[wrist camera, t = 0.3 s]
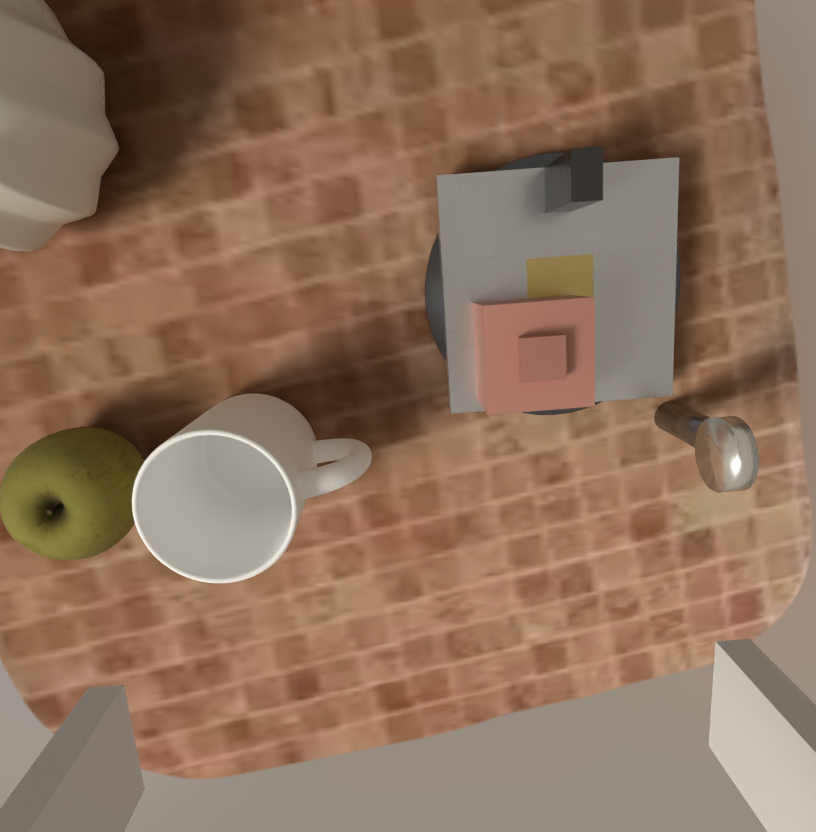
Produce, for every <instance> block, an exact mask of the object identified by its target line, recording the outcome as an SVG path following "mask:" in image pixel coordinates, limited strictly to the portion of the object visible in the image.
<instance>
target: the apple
mask: <svg viewBox="0 0 816 832" xmlns="http://www.w3.org/2000/svg"><path fill="white" fill-rule="evenodd" d="M143 463H144V459H143V457H142V455H141V454H140V452H139V451H138V450H137V449H136V447H134V446H133V445H132V444H131V443H130V442H129V441H128V440H126V439H125V438H124V437H122V436H120V435H118V434H116V433H114V432H111V431H108V430H106V429H101V428H94V427H79V428H71V429H66V430H62V431H59V432H56V433H54V434H51V435H48V436H46V437H44V438H42V439H40V440H38V441H37V442H35V443H33V444H32V445H30V446H28V447H27V448H26V449H25V450H24V451H22V452H21V453H20V454H19V455H18V456H17V457H16V458H15V460H14V461H13V462H12V463H11V464H10V466H9V467H8V469H7V471H6V473H5V475H4V478H3V480H2V484H1V490H0V512H1V516H2V519H3V522H4V525H5V527H6V529H7V530H8V532H9V533H10V535H11V536H12V537H13V538H14V539H15V540H16V541H17V542H18V543H20V544H21V545H23V546H24V547H26V548H27V549H29V550H30V551H32V552H34V553H36V554H39V555H42V556H45V557H49V558H55V559H62V560H77V559H84V558H89V557H92V556H95V555H98V554H100V553H102V552H104V551H106V550H108V549H109V548H111V547H112V546H114V545H115V544H116V543H118V542H119V541H120V540H121V539H122V538H123V537H124V536H125V535H126V534H127V533H128V532H129V531H130V529H131V528H132V527H133V525H134V523H135V521H134V517H133V512H132V494H133V487H134V483H135V479H136V477H137V474H138V472H139V470H140V468H141V466H142V465H143Z"/></svg>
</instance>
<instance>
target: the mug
mask: <svg viewBox="0 0 816 832" xmlns="http://www.w3.org/2000/svg"><path fill="white" fill-rule="evenodd" d="M335 460H339V461H336V462H334V463H331V464H328V465H324V466H320V467H317V464H318V463H322V462H328V461H335ZM371 460H372V453H371V450H370V448H369V447H368V446H367V445H366V444H365V443H364V442H362V441H359V440H355V439H349V438H337V439H326V440H317V441H316V438H315V435H314V433H313V430H312V428H311V427H310V425H309V423H308V422H307V420H306V419H305V418H304V416H303V415H302V414H301V413H300V412H299V411H298V410H297V409H295V408H294V407H293V406H292V405H290V404H288V403H287V402H285V401H283V400H281V399H279V398H276V397H273V396H270V395H265V394H254V393H253V394H242V395H237V396H234V397H231V398H228V399H226V400H224V401H222V402H220V403H218V404H216V405H215V406H213V407H212V408H211V409H209V410H208V411H206V412H205V413H204V414H202V415H201V416H200V417H198V418H197V419H195V420H194V421H193V422H191V423H190V424H189V425H187V426H186V427H184V428H183V429H182V430H180V431H179V432H178V433H176V434H175V435H174V436H172V437H171V438H169V439H168V440H167V441H165V442H164V443H163V444H161V445H160V446H159V447H157V448H156V449H155V450H154V451H153V452H152V453H151V454H150V455H149V456H148V458H147V459H146V460H145V461H144V463H143V465H142V466H141V468H140V470H139V472H138V474H137V477H136V479H135V483H134V487H133V494H132V512H133V517H134V521H135V524H136V527H137V530H138V532H139V534H140V536H141V538H142V540H143V542H144V543H145V545H146V546H147V548H148V549H149V550H150V551H151V553H152V554H153V555H154V556H155V557H156V558H157V559H158V560H159V561H161V562H162V563H163V564H164V565H166V566H167V567H168V568H170V569H171V570H173V571H175V572H177V573H179V574H181V575H183V576H185V577H188V578H190V579H194V580H198V581H202V582H209V583H231V582H236V581H241V580H244V579H247V578H250V577H253V576H255V575H257V574H259V573H261V572H262V571H264V570H266V569H267V568H269V567H270V566H271V565H272V564H273V563H275V562H276V561H277V560H278V559H279V558H280V556H281V555H282V554H283V553H284V551H285V550H286V548H287V547H288V545H289V544H290V541H291V539H292V537H293V535H294V532H295V529H296V527H297V524H298V521H299V519H300V516H301V513H302V510H303V508H304V505H305V503H306V500H307V498H311V497H315V496H319V495H322V494H325V493H328V492H331V491H334V490H337V489H339V488H341V487H344V486H346V485H348V484H350V483H351V482H353V481H355V480H356V479H357V478H359V477H360V476H361V475H362V474H363V473H364V472H365V471H366V470H367V469H368V468H369V466H370V463H371Z"/></svg>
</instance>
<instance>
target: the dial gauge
mask: <svg viewBox="0 0 816 832" xmlns="http://www.w3.org/2000/svg"><path fill="white" fill-rule="evenodd" d="M655 423H656V425H657V426H658V427H659V428H661V429H662V430H664V431H666V432H668V433H670V434H671V435H673V436H675V437H677V438H679V439H680V440H682V441H684V442H686V443H688V444H689V445H691V446H693V447H695V456H696V462H697V466H698V469H699V472H700V475H701V477H702V479H703V481H704V482H705V484H706V485H707V486H708V487H709V488H710V489H711V490H713V491H714V492H718V493H721V492H733V491H744V490H747V489H748V488H750V487H751V486H752V485H753V483H754V481H755V479H756V476H757V473H758V466H759V455H758V448H757V444H756V440H755V438H754V435H753V433H752V431H751V429H750V428H749V426H748V425H747V424H746V423H745V422H744V421H743V420H742V419H741V418H739V417H736V416H728V417H716V418H710V417H708V416H705V415H703V414H701V413H698V412H696V411H694V410H692V409H689V408H687V407H685V406H682V405H680V404H678V403H675V402H666V403H663V404H662V405H660V406H659V407H658V409H657V410H656V412H655Z"/></svg>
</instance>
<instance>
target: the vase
mask: <svg viewBox="0 0 816 832" xmlns="http://www.w3.org/2000/svg"><path fill="white" fill-rule="evenodd" d="M118 150H119V146H118V142H117V140H116V137H115V135H114V133H113V130H112V128H111V126H110V124H109V121H108V119H107V117H106V115H105V77H104V72H103V71H102V70H101V68H100V67H99V66H98V64H97V63H96V62H95V61H94V60H93V59H92V58H90V57H89V56H88V55H86V54H85V53H84V52H82V51H81V50H80V49H79V48H77V47H76V46H75V45H73V44H72V43H71V42H70V41H69V39H68V38H67V36H66V34H65V32H64V30H63V28H62V26H61V24H60V23H59V21H58V19H57V17H56V15H55V13H54V12H53V11H52V10H51V9H50V7H49V6H48V5H47V4H46V2H45V1H44V0H0V248H4V249H8V250H13V251H27V252H30V251H34V250H38V249H41V248H43V247H44V246H45V245H46V244H47V243H48V242H49V240H50V239H51V238H52V237H53V236H54V235H55V234H56V233H57V232H58V230H59V229H60V228H61V227H62V226H63V225H65V224H67V223H71V222H74V221H77V220H80V219H83V218H86V217H89V216H91V215H93V214H95V212H96V209H97V203H98V197H99V191H100V184H101V177H102V175H103V174H104V172H105V171H106V169H107V168H108V166H109V165H110V163H111V162H112V160H113V159H114V157H115V156H116V154H117V152H118Z"/></svg>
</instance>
